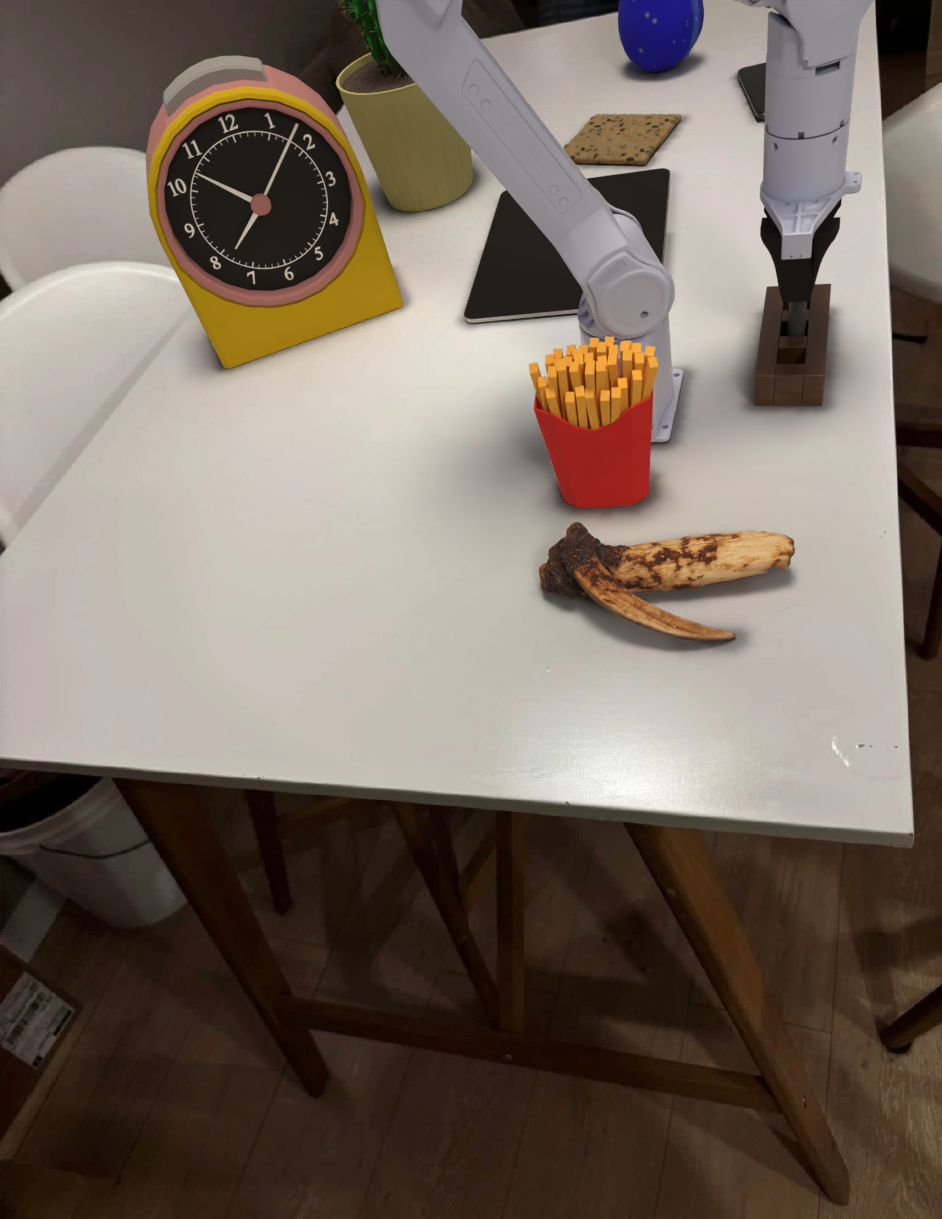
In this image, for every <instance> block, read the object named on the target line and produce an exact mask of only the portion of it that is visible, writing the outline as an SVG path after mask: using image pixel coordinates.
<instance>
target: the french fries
mask: <svg viewBox="0 0 942 1219" xmlns="http://www.w3.org/2000/svg"><path fill="white" fill-rule="evenodd" d="M552 350H553V351H552V353H550V354H545V356H544V357H545V359H544V366H545V371H546V375H544V376H542V374H541V370H540V366H539V363H538V361H536V362H535V361H534V362H531V363H530V362H529V363H528V370H529V377H530V379H531V382H532V384H533V388H534V390H535V394H534V401H533V402H534V403H533V411H534V412H533V413H534V415H535V418H536V420H537V424H538V427H539V430H540V433H541V436H542V439H543V442H544V445H545V447H546V450H547V454H548V457H549V460H550V462H551V466H552V469H553V471H554V474H555V477H556V481H557V482H558V483H557V484H558V486H559V489H560V492H561V495H562V499H563V501H564V502H566V503H567V504H569V505H571V506H573V507H575V508H577V509H595V508H596V509H597V508H611V507H622V506H623V507H624V506H632V505H635V504H637V503H638V502H640V501H641V500H643V499H645V498H646V497H648V496H649V495H650V494H649V493H650V477H651V476H650V474H651V452H652V442H651V434H652V413H653V385H654V381H655V378H656V374H657V370H658V362H657V357H654V352H655V347H653V346H647V345H646V350H645V355H644V352H642V353H641V343H632V347H631V340H629V341H621V344H620V361H621V374H620V371H619V364H618V345H614V337H607V336H606V337H605V342H599V338H590V344H588V345H582V344H579V348H577V345H576V344H572V345H571V344H570V345H566V351H565V355H564V351H563V348H562V347H561V348H553V349H552Z"/></svg>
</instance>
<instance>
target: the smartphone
mask: <svg viewBox="0 0 942 1219" xmlns="http://www.w3.org/2000/svg"><path fill="white" fill-rule="evenodd" d="M736 75H737V78H738V81H739V83H740V84H741V86H742V87H741V88H742V89H743V92H744V93H745V95H746V98H747V100H748V103H749V104H750V107H751V109H752V111H753V113H754V115H755V117H756V118H757V119H759V120H765V87H766V61H765V62H762V63H761V62H760V63H757V64H753V65H749V66H744V67H740V69H738V71H737V74H736Z"/></svg>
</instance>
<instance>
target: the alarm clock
mask: <svg viewBox="0 0 942 1219" xmlns="http://www.w3.org/2000/svg"><path fill="white" fill-rule="evenodd" d="M162 99H163V100H162V101H163V103H162V105H161V107H160V109H159V111H158V112H157V114H156V116H155V118H154V120H153V122H152V124H151V127H150V129H149V136H148V141H147V146H146V152H145V171H146V172H145V174H146V189H147V199H148V214H149V216H150V219H151V222H152V225H153V227H154V230H155V234H156V236H157V238H158V241H159V244H160V246H161V247H162V250H163V251H164V253H165V255H166V257H167V260H168V261H169V264H170V265H171V267H172V269H173V271H174V273H175V274H176V277H177V280H178V281H179V282H180V285H181V287H182V289H183V290H184V292H185V294H186V296H187V298H188V300H189V302H190V304H191V306H192V308H193V310H194V312H195V314H196V316H197V318H198V320H199V321H200V324H201V326H202V328H203V330H204V332H205V333H206V335H207V338H208V339H209V341H210V343H211V345H212V347H213V350H214V351H215V353H216V355H217V357H218V359H219V361H220V363H221V365H222V366H223V368H224V369H232V368H235V367H238V366H240V365H243V364H246V363H248V362H251V361H255V360H257V359H260V358H263V357H266V356H269V355H271V354H274V353H276V352H280V351H282V350H285V349H288V348H290V347H293V346H297V345H299V344H302V343H304V342H308V341H310V340H314V339H316V338H319V337H321V336H324V335H327V334H330V333H332V332H333V333H334V332H336V331H339V330H341V329H344V328H347V327H350V326H352V325H355V324H358V323H361V322H363V321H366V320H370V319H372V318H375V317H378V316H380V315H383V314H386V313H388V312H391V311H394V310H398V309H400V308H401V307H403V305H404V300H403V297H402V293H401V290H400V287H399V284H398V281H397V278H396V274H395V271H394V268H393V264H392V262H391V261H392V260H391V258H390V256H389V252H388V249H387V245H386V242H385V239H384V236H383V232H382V229H381V226H380V223H379V219H378V216H377V213H376V209H375V206H374V203H373V200H372V197H371V193H370V190H369V187H368V184H367V181H366V178H365V175H364V171H363V168H362V166H361V164H360V162H359V159H358V157H357V156H356V153H355V151H354V149H353V147H352V144H351V142H350V141H349V138H348V136H347V134H346V132H345V130H344V128H343V126H342V124H341V122H340V120H339V118H338V116H337V115H336V114H335V112H334V111H333V109H332V108H331V107H330V106H329V105H328V104H327V102H326V101H325V99H323V97H322V96H321V95H320V93H318V92H316V90H314V89H313V88H311V87H310V86H309V85H307V84H306V83H304V82H303V81H302V80H301V79H299V78H298V77H297V76H296V75H292V74H290V73H288V72H285V71H282V70H280V69H278V68H275V67H272V66H270V65H268V64H263V62H262V60H261V59H260V58H258V57H251V56H245V55H219V56H215V57H210V58H206V59H204V60H202V61H200V62H197V63H195V64H193V65H190V66H189V67H188V68H187V69H185V70H184V71H182V72H181V73H180V74H179V75H177V77H175V78H174V79H173V81H171V83H170V84H169V85H168V86H167V87H166V88H165V89H164V91H163V93H162Z"/></svg>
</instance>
